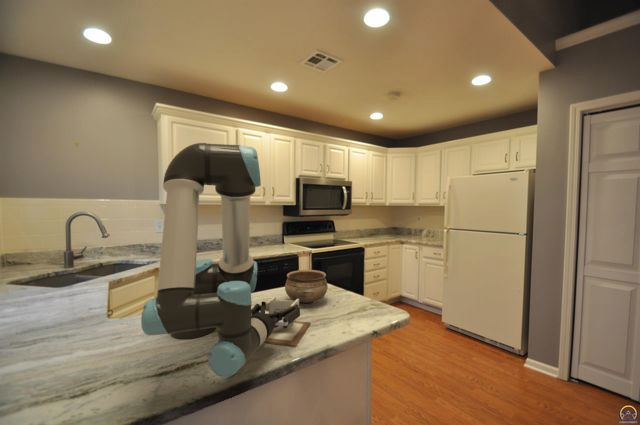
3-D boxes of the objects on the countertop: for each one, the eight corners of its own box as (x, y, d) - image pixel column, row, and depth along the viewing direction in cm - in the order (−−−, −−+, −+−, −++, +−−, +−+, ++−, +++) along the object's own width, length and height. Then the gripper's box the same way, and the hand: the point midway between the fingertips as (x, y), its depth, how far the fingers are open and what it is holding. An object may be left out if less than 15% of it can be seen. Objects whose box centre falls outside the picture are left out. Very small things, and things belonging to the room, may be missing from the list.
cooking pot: (284, 293, 128) (284, 268, 128) (322, 291, 131) (322, 267, 131) (285, 314, 103) (285, 283, 103) (332, 311, 106) (332, 281, 106)
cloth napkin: (247, 340, 83) (247, 338, 83) (269, 319, 99) (269, 317, 99) (295, 347, 79) (295, 344, 79) (310, 324, 95) (310, 322, 95)
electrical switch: (267, 327, 86) (268, 302, 87) (270, 323, 91) (270, 298, 92) (293, 327, 87) (293, 301, 87) (294, 322, 91) (294, 298, 92)
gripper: (221, 339, 74) (259, 309, 96) (291, 349, 69) (314, 315, 91) (221, 313, 74) (259, 289, 96) (291, 321, 69) (314, 293, 91)
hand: (286, 301), depth 93 cm, fingers closed on electrical switch, 8 cm apart
